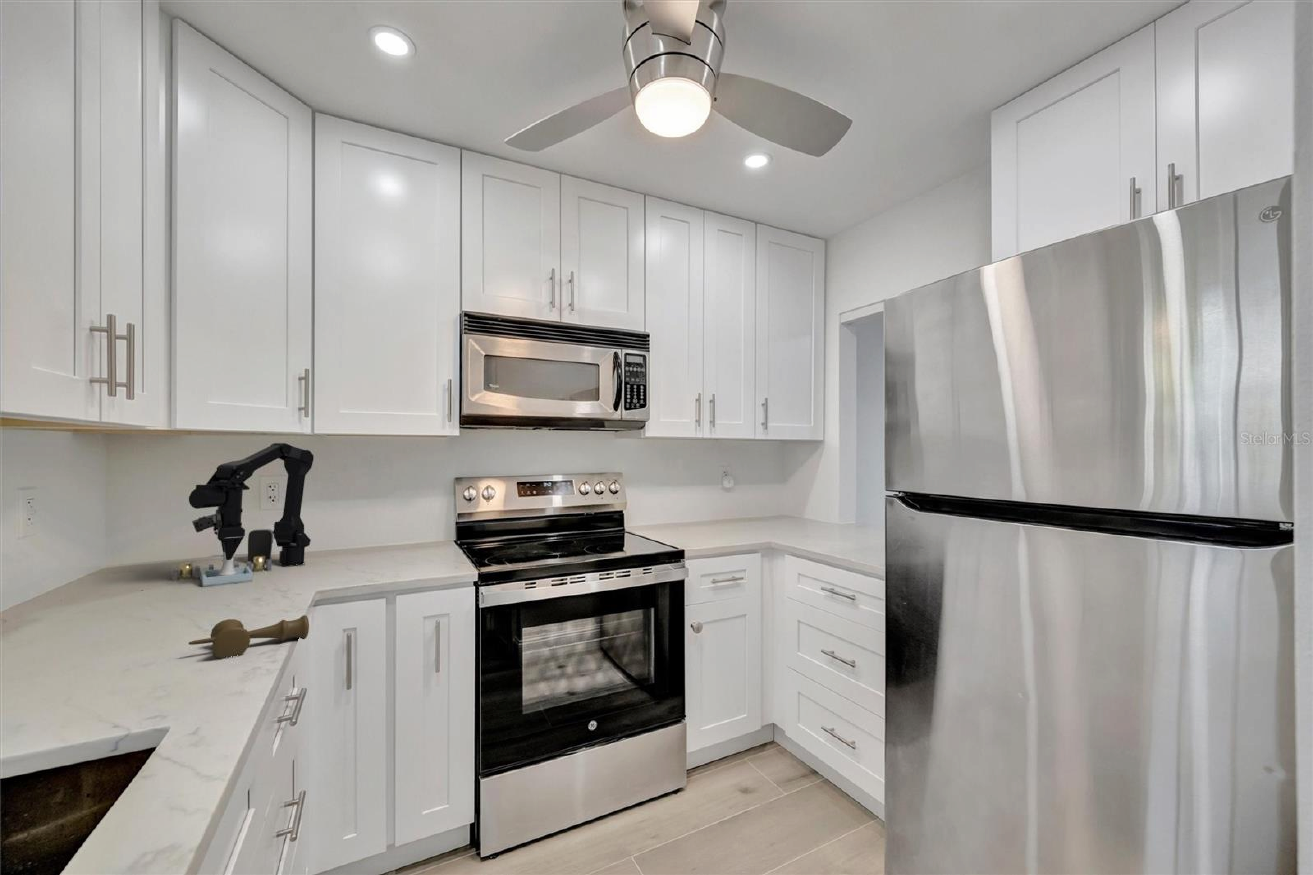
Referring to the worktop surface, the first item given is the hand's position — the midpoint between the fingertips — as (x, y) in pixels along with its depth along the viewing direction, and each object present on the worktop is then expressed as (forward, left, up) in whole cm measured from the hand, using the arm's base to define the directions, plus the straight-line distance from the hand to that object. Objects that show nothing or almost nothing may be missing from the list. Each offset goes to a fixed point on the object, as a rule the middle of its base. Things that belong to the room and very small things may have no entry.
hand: (227, 557), depth 163 cm
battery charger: (-11, -25, -7) cm, 28 cm away
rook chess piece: (0, 0, -7) cm, 7 cm away
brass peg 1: (+9, -10, -7) cm, 15 cm away
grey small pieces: (0, -10, -7) cm, 12 cm away
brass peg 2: (-9, -10, -7) cm, 15 cm away
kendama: (+1, +68, -7) cm, 69 cm away
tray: (0, 0, -7) cm, 7 cm away
